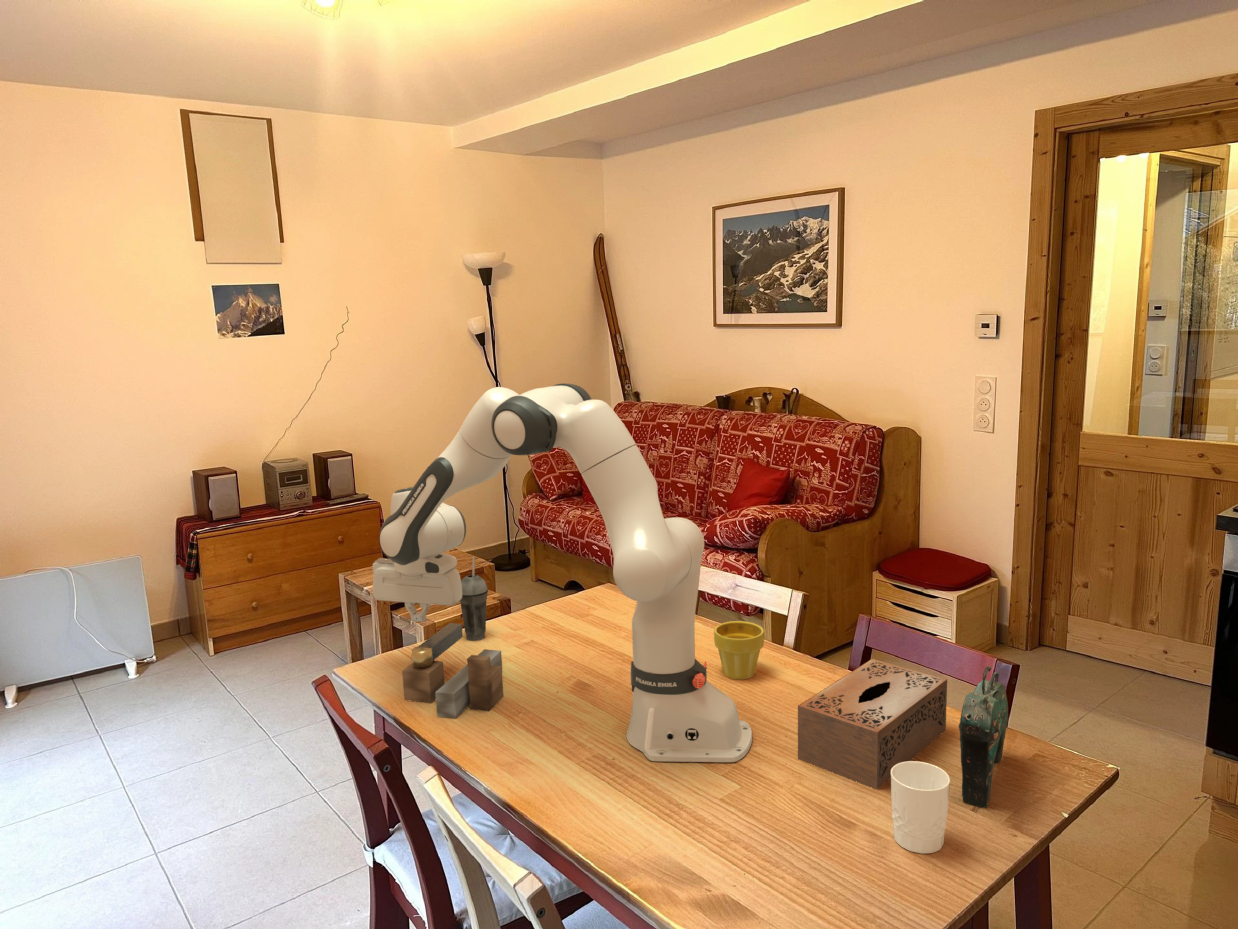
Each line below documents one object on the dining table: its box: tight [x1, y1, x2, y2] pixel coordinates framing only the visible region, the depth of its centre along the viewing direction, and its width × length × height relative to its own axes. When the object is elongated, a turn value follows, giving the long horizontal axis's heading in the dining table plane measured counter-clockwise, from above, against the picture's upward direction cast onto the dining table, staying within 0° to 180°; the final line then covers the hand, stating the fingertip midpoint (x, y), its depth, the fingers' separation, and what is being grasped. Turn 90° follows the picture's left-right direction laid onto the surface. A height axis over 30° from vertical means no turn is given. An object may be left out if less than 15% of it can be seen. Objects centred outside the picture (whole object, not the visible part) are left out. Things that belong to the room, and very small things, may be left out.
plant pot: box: [713, 620, 765, 680], centre depth 178 cm, size 10×10×10 cm
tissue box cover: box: [797, 658, 948, 790], centre depth 147 cm, size 26×14×10 cm, turn 136°
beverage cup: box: [459, 555, 489, 642], centre depth 203 cm, size 7×7×20 cm
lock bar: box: [411, 622, 464, 667], centre depth 178 cm, size 17×4×3 cm, turn 164°
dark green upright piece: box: [958, 665, 1009, 809], centre depth 134 cm, size 20×6×20 cm, turn 147°
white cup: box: [890, 760, 951, 854], centre depth 120 cm, size 8×8×10 cm
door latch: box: [401, 649, 504, 719], centre depth 174 cm, size 19×22×10 cm
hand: (418, 621), depth 185 cm, fingers closed
